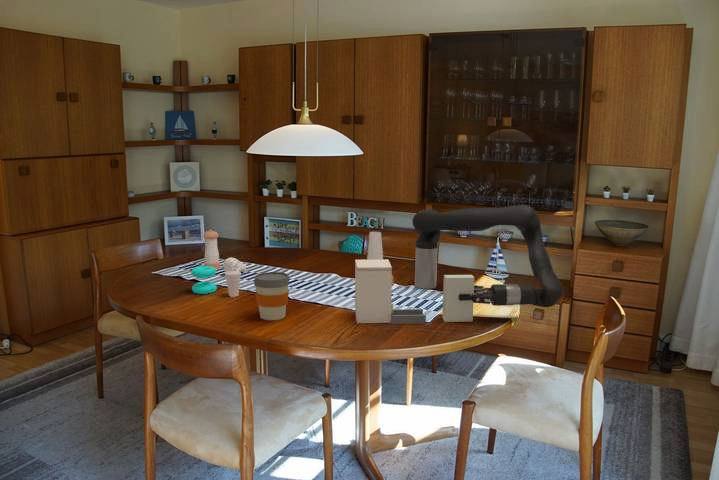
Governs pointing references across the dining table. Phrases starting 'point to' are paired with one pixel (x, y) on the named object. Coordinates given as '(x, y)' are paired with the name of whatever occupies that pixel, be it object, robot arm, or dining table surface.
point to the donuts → (204, 286)
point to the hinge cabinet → (379, 295)
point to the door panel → (457, 298)
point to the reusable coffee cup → (272, 294)
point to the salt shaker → (211, 249)
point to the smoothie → (233, 281)
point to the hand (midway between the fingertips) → (457, 295)
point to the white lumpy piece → (234, 265)
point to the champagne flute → (375, 246)
